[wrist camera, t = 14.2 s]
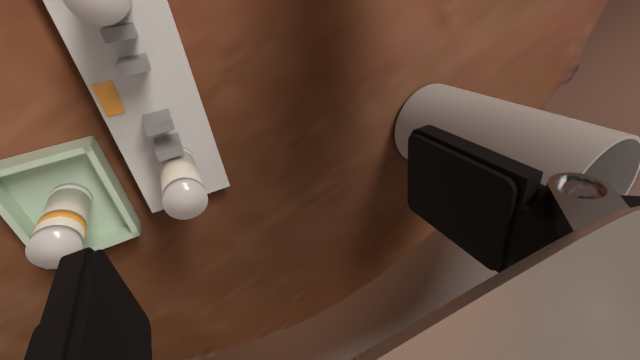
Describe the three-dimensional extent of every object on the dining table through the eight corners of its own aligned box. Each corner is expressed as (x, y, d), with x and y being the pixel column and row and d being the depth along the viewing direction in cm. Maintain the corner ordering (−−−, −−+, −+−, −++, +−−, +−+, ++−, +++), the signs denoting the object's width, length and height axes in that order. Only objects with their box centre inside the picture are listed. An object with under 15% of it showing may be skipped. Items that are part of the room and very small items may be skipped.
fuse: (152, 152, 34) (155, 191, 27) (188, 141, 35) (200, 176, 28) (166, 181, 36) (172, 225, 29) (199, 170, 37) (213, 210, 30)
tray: (-17, 164, 30) (-30, 178, 28) (93, 135, 33) (89, 145, 31) (52, 252, 36) (46, 270, 34) (140, 221, 39) (140, 235, 37)
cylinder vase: (408, 173, 56) (557, 268, 36) (379, 119, 48) (548, 201, 28) (462, 125, 56) (637, 192, 36) (442, 64, 49) (650, 107, 29)
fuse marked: (40, 190, 33) (14, 243, 26) (81, 178, 34) (67, 224, 27) (61, 219, 35) (42, 275, 27) (99, 206, 36) (91, 257, 29)
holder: (13, -69, 25) (-17, -86, 20) (138, -80, 28) (138, -97, 23) (151, 204, 39) (153, 232, 34) (226, 178, 41) (237, 201, 37)
